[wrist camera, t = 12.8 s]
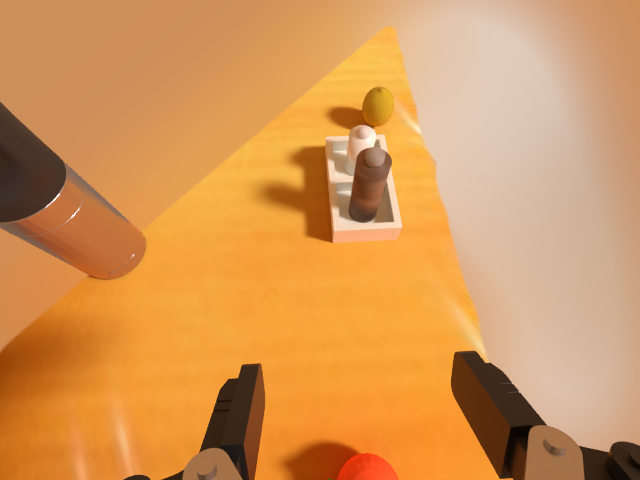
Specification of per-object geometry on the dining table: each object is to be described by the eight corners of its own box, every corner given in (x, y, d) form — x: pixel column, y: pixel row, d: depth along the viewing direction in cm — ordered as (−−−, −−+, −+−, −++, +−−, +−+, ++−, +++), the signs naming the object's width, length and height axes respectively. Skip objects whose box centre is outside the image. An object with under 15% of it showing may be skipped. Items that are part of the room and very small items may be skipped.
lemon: (353, 123, 61) (358, 86, 54) (375, 110, 62) (382, 72, 55) (373, 140, 59) (381, 104, 52) (395, 126, 61) (405, 90, 53)
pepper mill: (342, 211, 51) (349, 154, 39) (360, 194, 52) (373, 135, 40) (364, 228, 49) (378, 175, 37) (382, 210, 51) (401, 153, 39)
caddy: (396, 239, 50) (402, 227, 46) (332, 242, 50) (333, 231, 46) (380, 150, 58) (384, 134, 54) (325, 153, 58) (325, 136, 54)
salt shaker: (340, 168, 54) (344, 129, 46) (354, 154, 56) (360, 114, 48) (359, 180, 53) (367, 143, 45) (373, 166, 55) (383, 127, 47)
